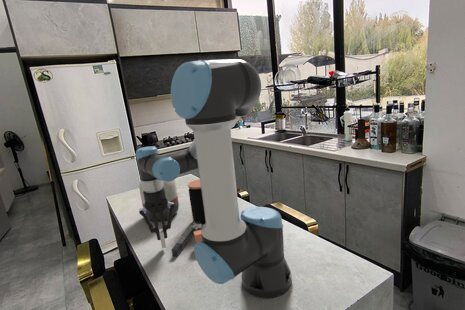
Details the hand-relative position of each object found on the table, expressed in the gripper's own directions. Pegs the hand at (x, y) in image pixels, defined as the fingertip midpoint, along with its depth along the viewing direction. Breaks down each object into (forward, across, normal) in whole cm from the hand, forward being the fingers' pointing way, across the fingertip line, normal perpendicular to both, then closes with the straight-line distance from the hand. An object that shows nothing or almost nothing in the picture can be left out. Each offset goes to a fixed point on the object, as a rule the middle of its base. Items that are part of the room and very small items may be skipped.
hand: (163, 246), depth 108 cm
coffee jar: (+2, -20, -17) cm, 26 cm away
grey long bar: (+1, -10, -1) cm, 10 cm away
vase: (+2, -2, -32) cm, 32 cm away
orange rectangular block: (-2, -14, +5) cm, 15 cm away
